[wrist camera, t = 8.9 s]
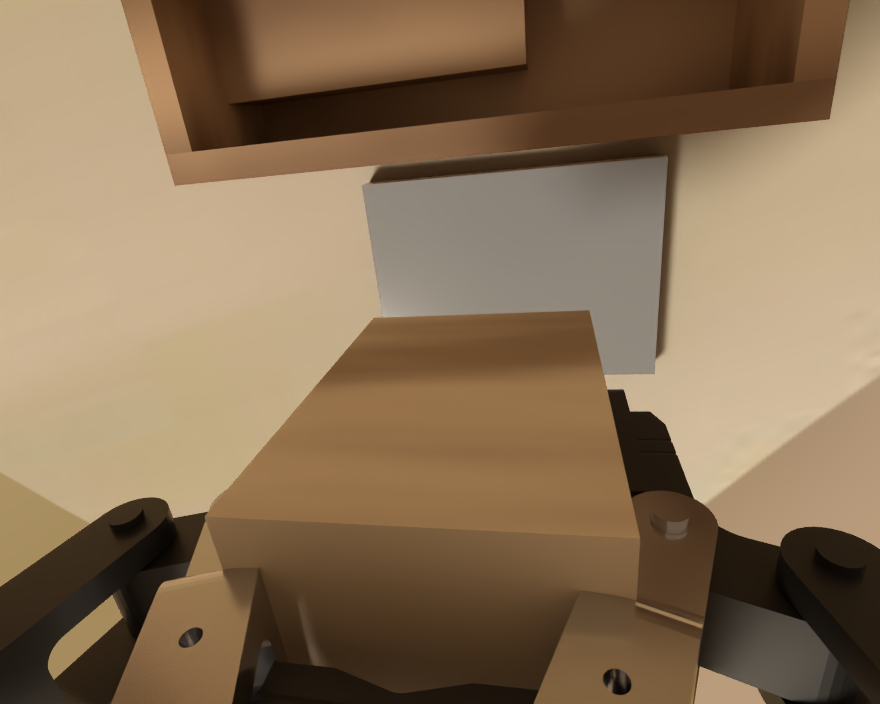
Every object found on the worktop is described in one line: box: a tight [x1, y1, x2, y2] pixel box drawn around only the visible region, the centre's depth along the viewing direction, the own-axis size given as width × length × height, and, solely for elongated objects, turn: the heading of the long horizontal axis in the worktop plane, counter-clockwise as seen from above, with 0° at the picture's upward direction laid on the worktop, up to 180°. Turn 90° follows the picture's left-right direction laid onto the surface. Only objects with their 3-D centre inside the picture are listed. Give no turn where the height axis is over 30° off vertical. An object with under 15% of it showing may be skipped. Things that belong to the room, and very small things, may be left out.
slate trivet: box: [362, 155, 668, 375], centre depth 23 cm, size 9×12×1 cm
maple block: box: [205, 310, 640, 693], centre depth 10 cm, size 5×5×7 cm
